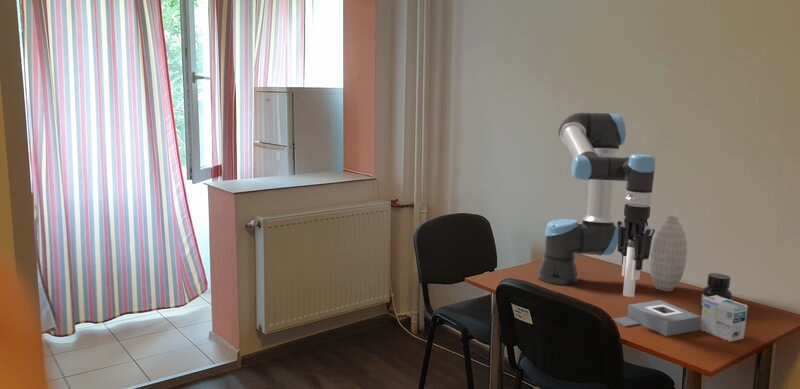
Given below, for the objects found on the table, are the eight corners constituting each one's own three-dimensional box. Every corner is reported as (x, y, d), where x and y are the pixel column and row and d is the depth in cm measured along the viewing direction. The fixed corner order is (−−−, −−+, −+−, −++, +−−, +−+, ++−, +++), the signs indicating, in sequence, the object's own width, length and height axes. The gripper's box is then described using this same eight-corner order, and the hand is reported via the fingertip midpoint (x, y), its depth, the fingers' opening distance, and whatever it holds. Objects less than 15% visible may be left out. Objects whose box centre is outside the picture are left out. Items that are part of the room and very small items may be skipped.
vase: (647, 281, 243) (655, 211, 238) (683, 286, 238) (691, 214, 233) (645, 290, 232) (653, 216, 227) (682, 296, 226) (691, 220, 222)
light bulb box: (744, 338, 188) (749, 305, 187) (730, 342, 185) (735, 308, 183) (712, 326, 198) (716, 294, 196) (698, 330, 194) (702, 297, 192)
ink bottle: (695, 304, 218) (699, 271, 216) (718, 304, 219) (723, 271, 217) (711, 314, 208) (715, 280, 206) (736, 314, 209) (740, 280, 207)
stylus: (620, 294, 197) (625, 239, 195) (628, 293, 199) (634, 238, 196) (628, 297, 194) (633, 241, 191) (636, 296, 196) (642, 241, 193)
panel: (627, 317, 202) (628, 304, 202) (658, 312, 208) (660, 299, 207) (666, 336, 188) (667, 321, 187) (698, 330, 194) (700, 315, 193)
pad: (611, 320, 200) (611, 318, 200) (625, 318, 202) (626, 316, 202) (625, 327, 194) (625, 325, 194) (639, 324, 197) (640, 323, 197)
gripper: (609, 200, 198) (602, 271, 202) (649, 210, 183) (641, 286, 187) (627, 199, 201) (620, 269, 205) (667, 209, 186) (659, 284, 190)
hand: (630, 277), depth 196 cm, fingers closed on stylus, 3 cm apart
